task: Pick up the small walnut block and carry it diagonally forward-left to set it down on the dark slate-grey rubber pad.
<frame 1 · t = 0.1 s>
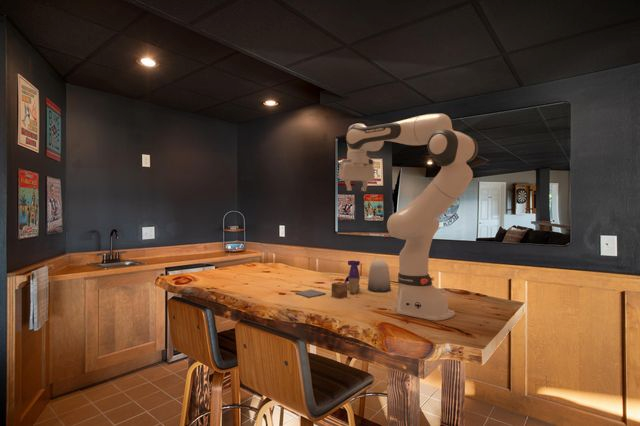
hand: (356, 190, 165), 48 cm above the table, tool pointing down, fingers open, 8 cm apart
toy: (379, 290, 177), on the table
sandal: (351, 290, 177), on the table
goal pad: (310, 294, 168), on the table
walnut block: (339, 296, 164), on the table
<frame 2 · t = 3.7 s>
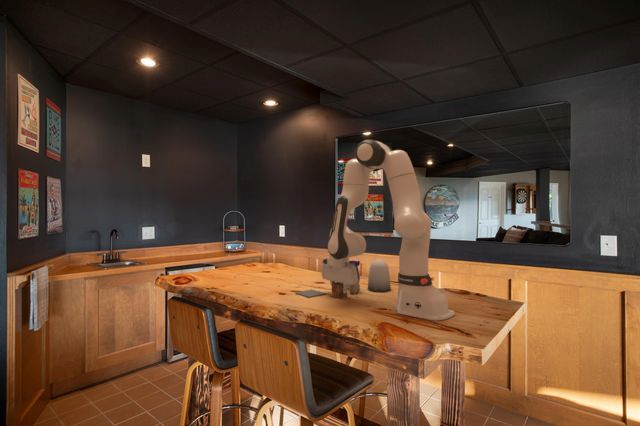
hand: (339, 291, 164), 2 cm above the table, tool pointing down, fingers closed on walnut block, 5 cm apart
walnut block: (339, 296, 164), on the table, touching gripper
everything else where it was.
when the fingers open (4 cm above the table, at t = 8.8 s): walnut block drops 1 cm, resting on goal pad.
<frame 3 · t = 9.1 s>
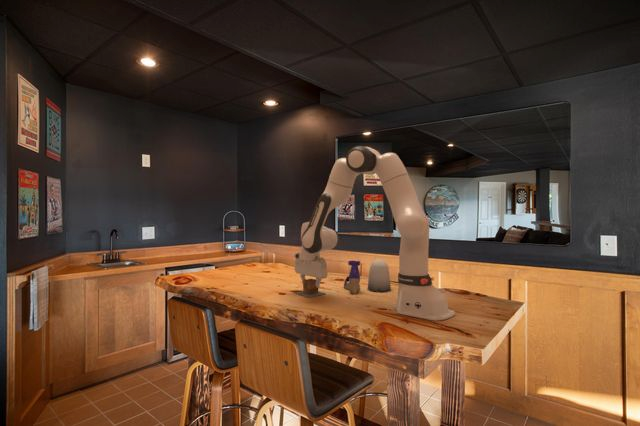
hand: (310, 285, 168), 4 cm above the table, tool pointing down, fingers open, 8 cm apart
walnut block: (310, 292, 168), point 1 cm above the table, touching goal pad
everything else where it was.
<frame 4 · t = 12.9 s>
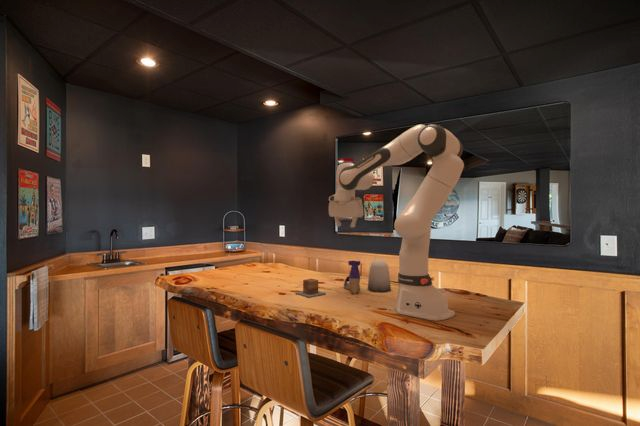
hand: (345, 226, 171), 31 cm above the table, tool pointing down, fingers open, 8 cm apart
nothing on the table moved.
at the end: walnut block inside the target area on the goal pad (0.1 cm from its centre), point 0.6 cm above the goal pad's base; walnut block tilted 0°; the gripper is holding nothing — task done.
